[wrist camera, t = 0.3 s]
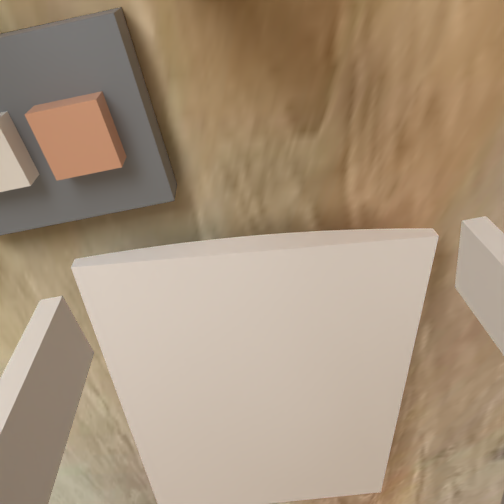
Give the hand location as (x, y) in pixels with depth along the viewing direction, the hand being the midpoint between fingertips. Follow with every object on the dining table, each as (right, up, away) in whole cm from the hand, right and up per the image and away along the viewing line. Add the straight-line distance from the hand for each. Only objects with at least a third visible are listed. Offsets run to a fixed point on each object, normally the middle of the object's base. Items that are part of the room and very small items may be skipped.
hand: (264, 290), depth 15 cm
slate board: (-17, +11, +21) cm, 29 cm away
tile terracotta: (-13, +10, +18) cm, 24 cm away
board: (+1, -14, +41) cm, 43 cm away
